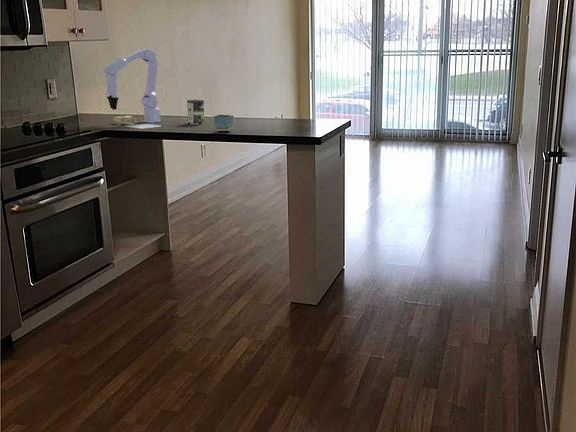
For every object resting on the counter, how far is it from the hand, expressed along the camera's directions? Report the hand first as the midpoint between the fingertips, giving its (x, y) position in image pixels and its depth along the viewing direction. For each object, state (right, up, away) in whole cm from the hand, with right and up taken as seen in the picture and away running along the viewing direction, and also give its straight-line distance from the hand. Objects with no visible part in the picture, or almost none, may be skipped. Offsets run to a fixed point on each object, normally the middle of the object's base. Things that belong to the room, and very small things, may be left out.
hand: (113, 108), depth 357 cm
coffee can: (+47, -7, +14) cm, 50 cm away
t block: (+6, -8, +8) cm, 13 cm away
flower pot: (+68, -16, -18) cm, 72 cm away
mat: (+18, -10, -1) cm, 21 cm away
